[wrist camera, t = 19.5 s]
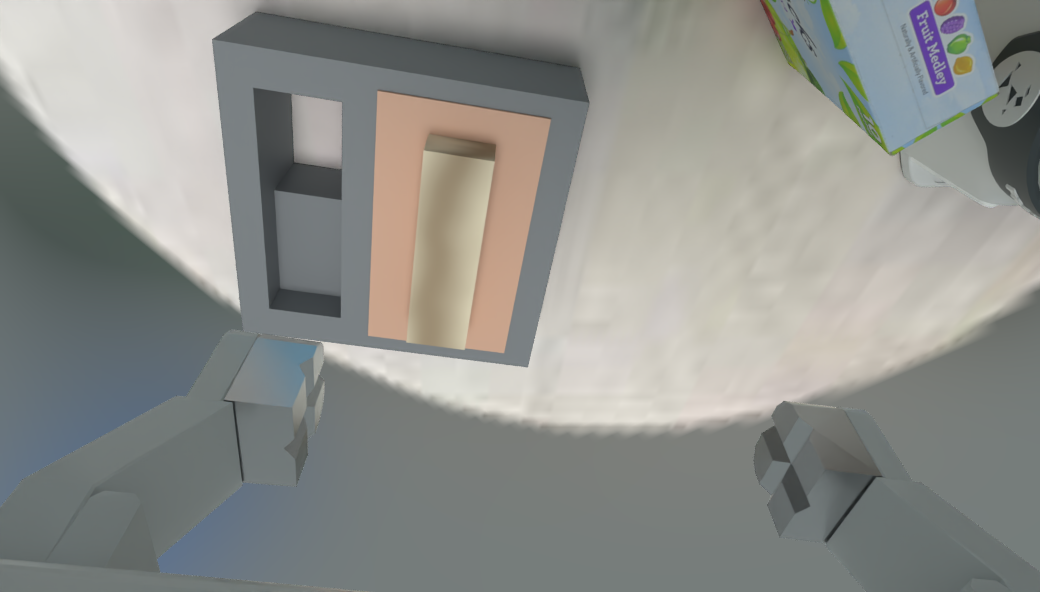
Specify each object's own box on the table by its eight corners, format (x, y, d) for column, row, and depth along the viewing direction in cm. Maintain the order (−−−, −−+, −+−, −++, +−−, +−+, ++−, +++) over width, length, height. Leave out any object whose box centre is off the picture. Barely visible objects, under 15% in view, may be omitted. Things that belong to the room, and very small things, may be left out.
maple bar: (495, 144, 38) (494, 161, 36) (467, 327, 46) (464, 350, 44) (428, 133, 38) (423, 150, 35) (411, 320, 45) (406, 342, 43)
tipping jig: (579, 68, 42) (589, 104, 36) (526, 312, 54) (527, 369, 48) (255, 11, 40) (210, 40, 34) (273, 277, 52) (242, 333, 46)
